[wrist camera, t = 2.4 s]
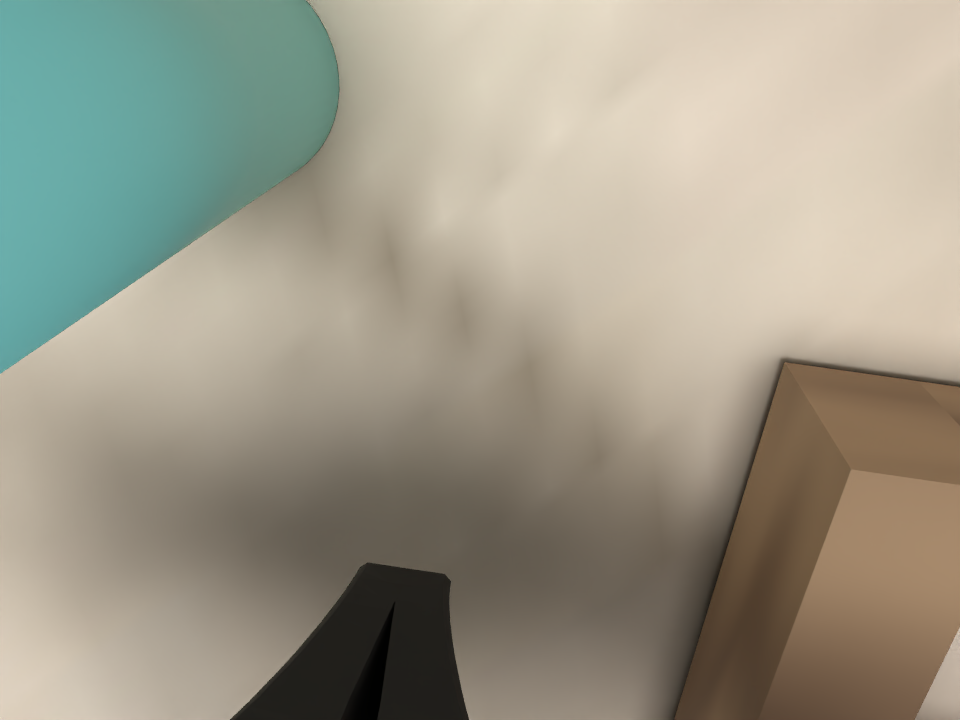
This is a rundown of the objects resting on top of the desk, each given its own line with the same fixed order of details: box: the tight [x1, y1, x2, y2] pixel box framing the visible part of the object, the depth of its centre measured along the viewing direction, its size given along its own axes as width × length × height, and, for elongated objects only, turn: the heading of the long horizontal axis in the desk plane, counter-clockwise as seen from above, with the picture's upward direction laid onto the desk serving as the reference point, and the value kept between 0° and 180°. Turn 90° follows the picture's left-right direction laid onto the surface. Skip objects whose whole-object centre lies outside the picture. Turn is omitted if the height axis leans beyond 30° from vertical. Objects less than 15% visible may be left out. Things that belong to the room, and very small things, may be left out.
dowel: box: [0, 0, 339, 374], centre depth 8 cm, size 3×3×8 cm
